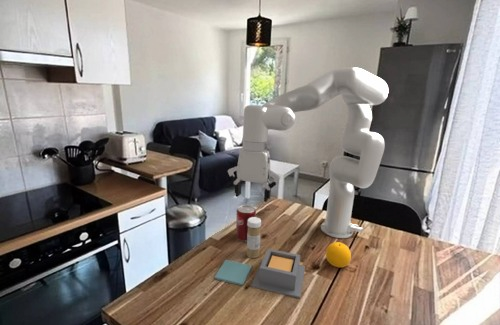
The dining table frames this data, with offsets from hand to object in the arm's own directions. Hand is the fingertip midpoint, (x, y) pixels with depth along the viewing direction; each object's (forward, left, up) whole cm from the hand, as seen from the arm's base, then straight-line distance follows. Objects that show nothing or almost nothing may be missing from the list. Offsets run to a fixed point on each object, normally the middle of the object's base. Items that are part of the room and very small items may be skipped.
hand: (252, 197), depth 87 cm
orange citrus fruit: (-29, -5, -22) cm, 37 cm away
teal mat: (+2, +11, -21) cm, 24 cm away
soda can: (+5, -10, -22) cm, 24 cm away
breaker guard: (-12, +8, -21) cm, 26 cm away
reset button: (-12, +8, -18) cm, 23 cm away
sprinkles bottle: (-1, 0, -22) cm, 22 cm away
